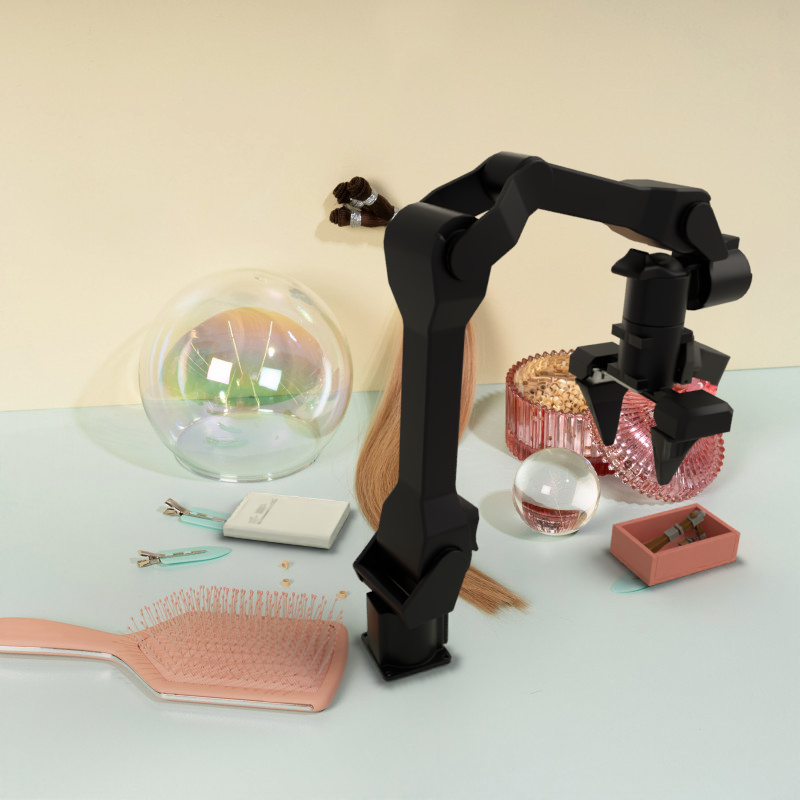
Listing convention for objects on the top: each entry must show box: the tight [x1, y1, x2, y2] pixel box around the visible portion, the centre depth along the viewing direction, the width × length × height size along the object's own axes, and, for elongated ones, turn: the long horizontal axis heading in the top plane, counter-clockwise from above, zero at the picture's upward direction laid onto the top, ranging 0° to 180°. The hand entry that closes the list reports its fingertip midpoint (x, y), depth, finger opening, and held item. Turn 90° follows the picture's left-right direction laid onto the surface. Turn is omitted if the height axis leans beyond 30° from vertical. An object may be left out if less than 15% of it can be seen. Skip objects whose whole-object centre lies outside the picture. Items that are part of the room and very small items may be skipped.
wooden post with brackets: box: [643, 510, 706, 553], centre depth 89 cm, size 2×8×4 cm, turn 110°
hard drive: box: [222, 491, 351, 550], centre depth 96 cm, size 2×8×12 cm
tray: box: [609, 502, 741, 587], centre depth 89 cm, size 11×7×4 cm, turn 113°
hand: (634, 463), depth 86 cm, fingers open, 9 cm apart
